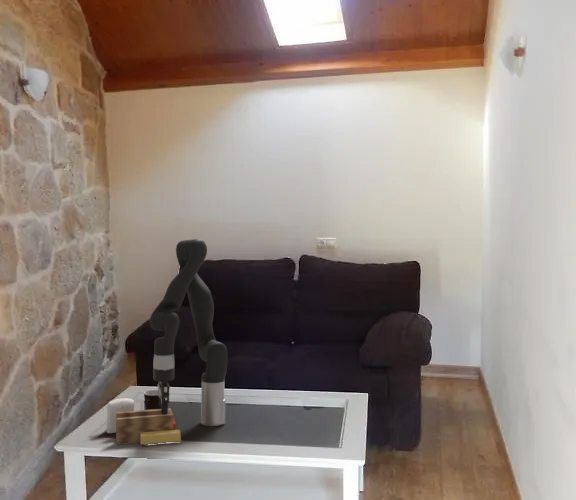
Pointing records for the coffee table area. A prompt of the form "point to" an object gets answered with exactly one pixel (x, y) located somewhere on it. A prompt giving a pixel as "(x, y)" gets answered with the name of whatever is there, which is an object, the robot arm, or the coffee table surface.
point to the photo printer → (117, 406)
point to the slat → (160, 436)
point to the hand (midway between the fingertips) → (163, 410)
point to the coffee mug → (151, 400)
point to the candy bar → (174, 423)
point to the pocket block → (141, 424)
